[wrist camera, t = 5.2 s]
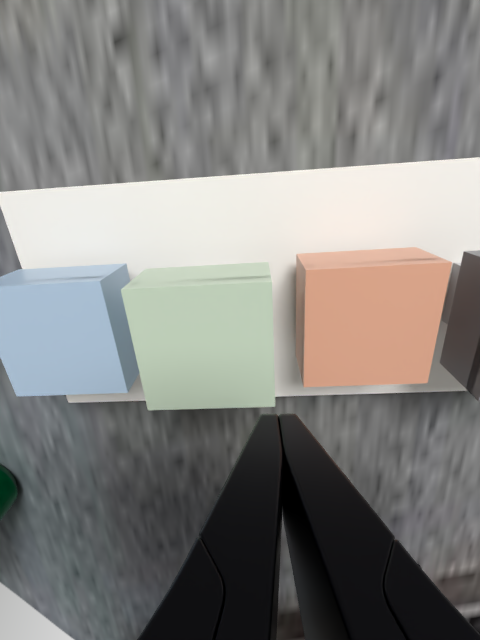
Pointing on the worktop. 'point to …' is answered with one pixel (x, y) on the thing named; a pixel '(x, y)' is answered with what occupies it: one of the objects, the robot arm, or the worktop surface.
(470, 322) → the key charcoal
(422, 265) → the key terracotta
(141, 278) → the key sage
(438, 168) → the keypad
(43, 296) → the key blue
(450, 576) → the worktop surface
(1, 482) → the soda can
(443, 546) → the worktop surface
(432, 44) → the worktop surface
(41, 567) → the worktop surface
